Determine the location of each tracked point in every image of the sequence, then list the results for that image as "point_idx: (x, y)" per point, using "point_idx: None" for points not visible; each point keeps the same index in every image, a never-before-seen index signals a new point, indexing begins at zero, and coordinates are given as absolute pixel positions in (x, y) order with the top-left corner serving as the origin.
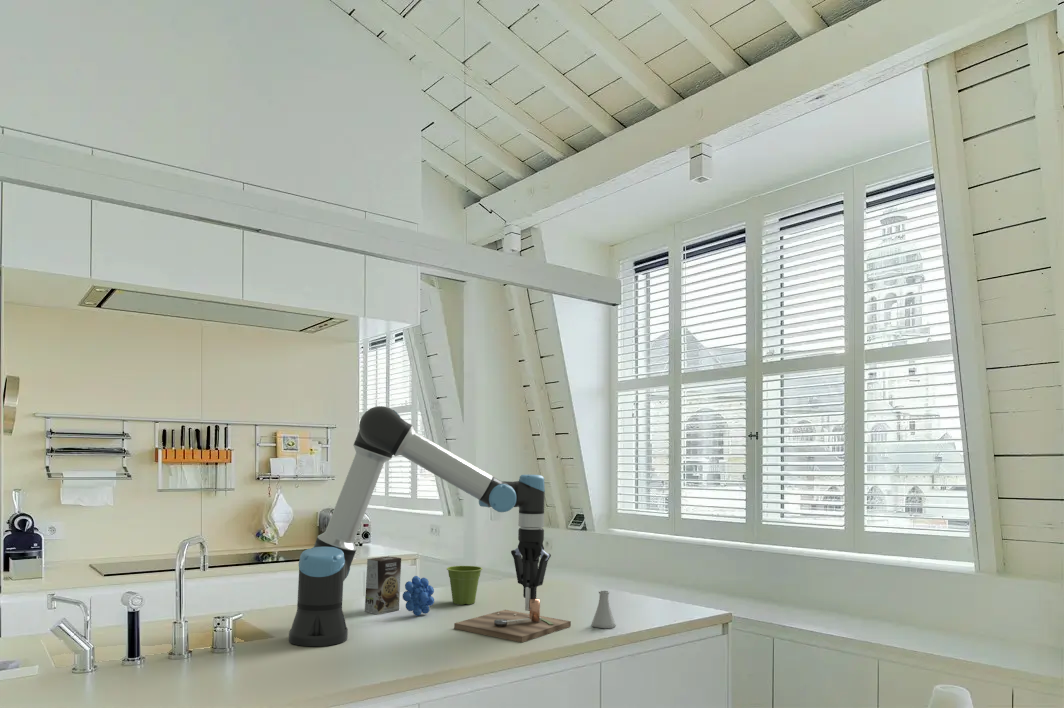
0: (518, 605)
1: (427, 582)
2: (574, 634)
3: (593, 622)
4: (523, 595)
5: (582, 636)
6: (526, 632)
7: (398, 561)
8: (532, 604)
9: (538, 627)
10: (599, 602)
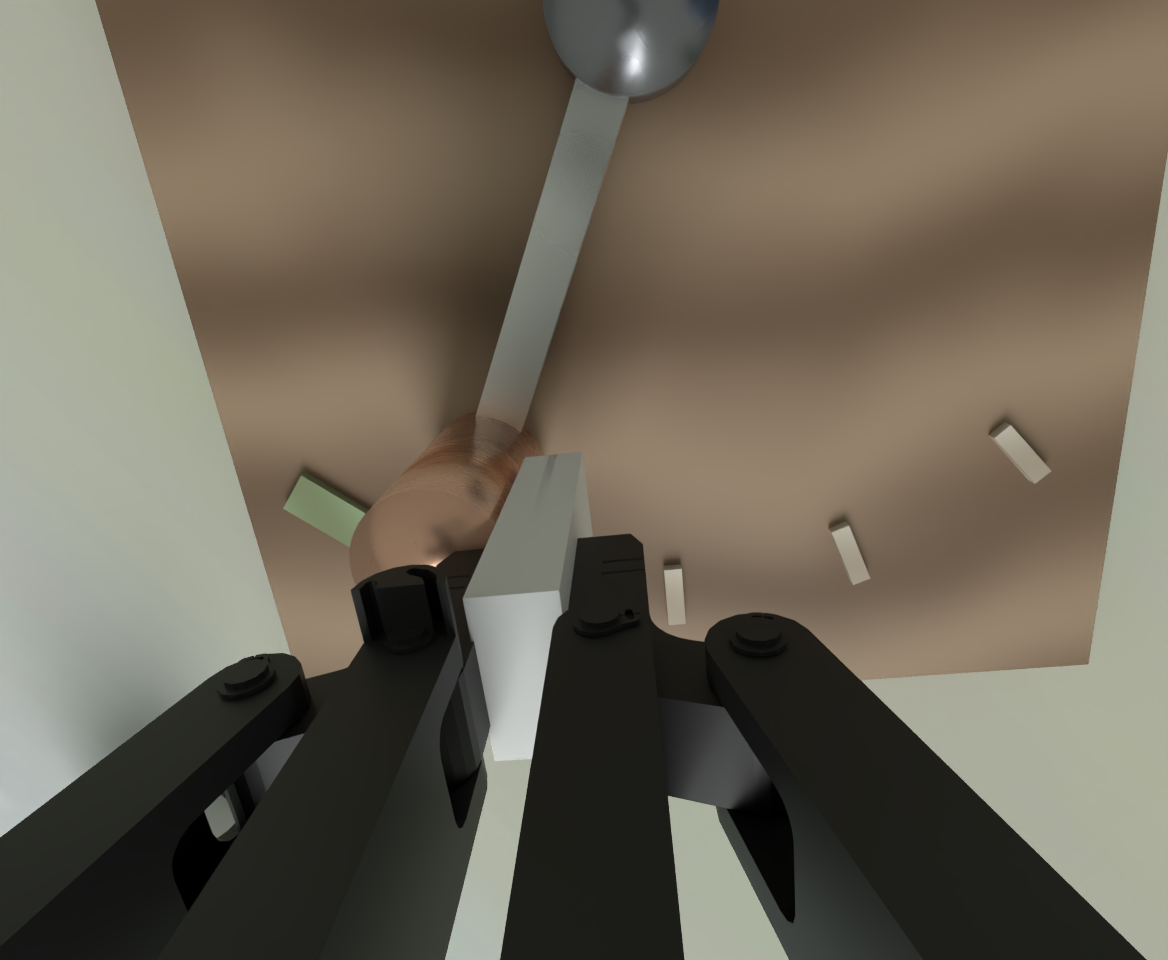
0: (1153, 940)
1: None
2: (96, 511)
3: (209, 824)
4: (641, 547)
5: (4, 505)
6: (177, 4)
7: None
8: (422, 471)
9: (290, 312)
10: None
